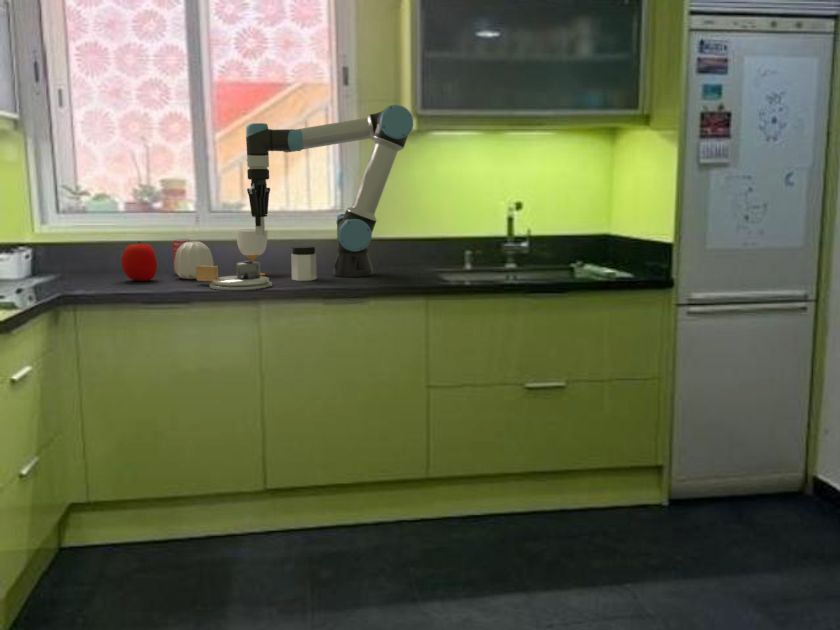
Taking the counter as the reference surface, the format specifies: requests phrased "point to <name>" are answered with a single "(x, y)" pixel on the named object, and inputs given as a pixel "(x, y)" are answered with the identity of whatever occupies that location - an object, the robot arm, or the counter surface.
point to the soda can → (177, 244)
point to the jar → (303, 263)
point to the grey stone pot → (248, 269)
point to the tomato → (139, 262)
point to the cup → (251, 243)
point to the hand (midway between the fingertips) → (260, 235)
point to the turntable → (212, 275)
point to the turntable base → (239, 287)
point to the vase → (191, 259)
